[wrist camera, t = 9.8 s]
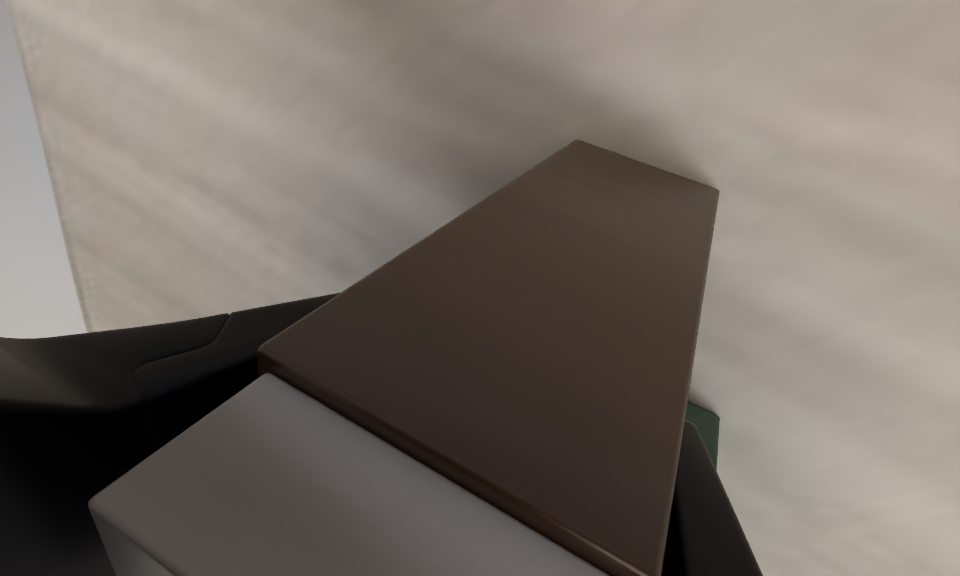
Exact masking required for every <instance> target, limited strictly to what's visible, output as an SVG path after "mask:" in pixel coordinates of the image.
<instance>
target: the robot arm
mask: <svg viewBox="0 0 960 576" xmlns="http://www.w3.org/2000/svg"><path fill="white" fill-rule="evenodd" d="M338 294H340V293H336V294H331V295H325V296H320V297H314V298H309V299H303V300H298V301H292V302H287V303H281V304H276V305H270V306H265V307H259V308H254V309H248V310H243V311H237V312H233V313H231V314H230V315H229V314H228V313H226V314H221V315H215V316H210V317H204V318H198V319H192V320H186V321H179V322H173V323H166V324H158V325H151V326H143V327H135V328H126V329H118V330H109V331H101V332H92V333H84V334H75V335H67V336H58V337H50V338H38V339H15V338H3V337H0V576H116V574H115V571H114V569H113V566H112V564H111V561H110V559H109V556H108V554H107V552H106V549H105V547H104V544H103V542H102V539H101V537H100V534H99V532H98V530H97V527H96V525H95V522H94V520H93V517H92V515H91V512H90V510H89V507H88V502H89V501H90V499H91V498H92V497H93V496H95V495H96V494H97V493H99V492H100V491H102V490H103V489H104V488H106V487H107V486H109V485H110V484H111V483H113V482H114V481H115V480H117V479H118V478H120V477H121V476H122V475H124V474H125V473H127V472H128V471H129V470H131V469H132V468H134V467H135V466H136V465H138V464H139V463H141V462H142V461H143V460H145V459H146V458H148V457H149V456H150V455H152V454H153V453H155V452H156V451H157V450H159V449H160V448H162V447H163V446H164V445H166V444H167V443H169V442H170V441H171V440H173V439H174V438H176V437H177V436H178V435H180V434H181V433H182V432H184V431H185V430H187V429H188V428H189V427H191V426H192V425H194V424H195V423H196V422H198V421H199V420H201V419H202V418H203V417H205V416H206V415H208V414H209V413H210V412H212V411H213V410H215V409H216V408H217V407H219V406H220V405H222V404H223V403H224V402H226V401H227V400H229V399H230V398H231V397H233V396H234V395H236V394H237V393H238V392H240V391H241V390H243V389H244V388H245V387H247V386H248V385H249V384H251V383H252V382H254V381H255V380H256V379H258V362H257V351H258V349H259V347H260V346H261V345H262V344H263V343H265V342H266V341H268V340H269V339H271V338H272V337H274V336H276V335H277V334H279V333H280V332H282V331H283V330H285V329H286V328H288V327H289V326H291V325H292V324H294V323H295V322H297V321H299V320H300V319H302V318H303V317H305V316H306V315H308V314H309V313H311V312H312V311H314V310H315V309H317V308H318V307H320V306H322V305H323V304H325V303H326V302H328V301H329V300H331V299H332V298H334V297H335V296H337V295H338ZM661 576H763V575H762V572H761V570H760V568H759V566H758V563H757V561H756V559H755V557H754V555H753V552H752V550H751V548H750V546H749V543H748V541H747V539H746V537H745V534H744V532H743V530H742V528H741V525H740V523H739V521H738V519H737V516H736V514H735V512H734V510H733V507H732V505H731V503H730V501H729V498H728V496H727V494H726V492H725V489H724V487H723V485H722V483H721V480H720V478H719V476H718V474H717V471H716V469H715V467H714V465H713V462H712V460H711V458H710V456H709V454H708V451H707V449H706V447H705V445H704V442H703V440H702V438H701V436H700V433H699V431H698V429H697V427H696V426H695V424H693V423H691V422H689V421H687V420H685V421H684V427H683V434H682V441H681V447H680V454H679V460H678V467H677V473H676V480H675V487H674V493H673V500H672V506H671V513H670V520H669V526H668V533H667V539H666V546H665V553H664V559H663V566H662V572H661Z"/></svg>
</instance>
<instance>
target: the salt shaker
mask: <svg viewBox="0 0 960 576" xmlns="http://www.w3.org/2000/svg"><path fill="white" fill-rule="evenodd" d="M718 197H719V191H718V190H717V189H715V188H712V187H709V186H706V185H703V184H701V183H698V182H695V181H692V180H689V179H687V178H684V177H681V176H678V175H675V174H672V173H670V172H667V171H664V170H661V169H658V168H656V167H653V166H650V165H647V164H644V163H642V162H639V161H636V160H633V159H630V158H628V157H625V156H622V155H619V154H616V153H614V152H611V151H608V150H605V149H602V148H599V147H597V146H594V145H591V144H588V143H585V142H583V141H580V140H575V141H573V142H572V143H570V144H569V145H567V146H566V147H564V148H562V149H561V150H559V151H558V152H556V153H555V154H553V155H552V156H550V157H549V158H547V159H546V160H544V161H543V162H541V163H539V164H538V165H536V166H535V167H533V168H532V169H530V170H529V171H527V172H526V173H524V174H523V175H521V176H519V177H518V178H516V179H515V180H513V181H512V182H510V183H509V184H507V185H506V186H504V187H503V188H501V189H500V190H498V191H496V192H495V193H493V194H492V195H490V196H489V197H487V198H486V199H484V200H483V201H481V202H480V203H478V204H477V205H475V206H473V207H472V208H470V209H469V210H467V211H466V212H464V213H463V214H461V215H460V216H458V217H457V218H455V219H454V220H452V221H450V222H449V223H447V224H446V225H444V226H443V227H441V228H440V229H438V230H437V231H435V232H434V233H432V234H430V235H429V236H427V237H426V238H424V239H423V240H421V241H420V242H418V243H417V244H415V245H414V246H412V247H411V248H409V249H407V250H406V251H404V252H403V253H401V254H400V255H398V256H397V257H395V258H394V259H392V260H391V261H389V262H388V263H386V264H384V265H383V266H381V267H380V268H378V269H377V270H375V271H374V272H372V273H371V274H369V275H368V276H366V277H365V278H363V279H361V280H360V281H358V282H357V283H355V284H354V285H352V286H351V287H349V288H348V289H346V290H345V291H343V292H341V293H340V294H338V295H337V296H335V297H334V298H332V299H331V300H329V301H328V302H326V303H325V304H323V305H322V306H320V307H318V308H317V309H315V310H314V311H312V312H311V313H309V314H308V315H306V316H305V317H303V318H302V319H300V320H299V321H297V322H295V323H294V324H292V325H291V326H289V327H288V328H286V329H285V330H283V331H282V332H280V333H279V334H277V335H276V336H274V337H272V338H271V339H269V340H268V341H266V342H265V343H263V344H262V345H261V346H260V347H259V349H258V351H257V362H258V379H256V380H255V381H254V382H252V383H251V384H249V385H248V386H247V387H245V388H244V389H243V390H241V391H240V392H238V393H237V394H236V395H234V396H233V397H231V398H230V399H229V400H227V401H226V402H224V403H223V404H222V405H220V406H219V407H217V408H216V409H215V410H213V411H212V412H210V413H209V414H208V415H206V416H205V417H203V418H202V419H201V420H199V421H198V422H196V423H195V424H194V425H192V426H191V427H189V428H188V429H187V430H185V431H184V432H182V433H181V434H180V435H178V436H177V437H176V438H174V439H173V440H171V441H170V442H169V443H167V444H166V445H164V446H163V447H162V448H160V449H159V450H157V451H156V452H155V453H153V454H152V455H150V456H149V457H148V458H146V459H145V460H143V461H142V462H141V463H139V464H138V465H136V466H135V467H134V468H132V469H131V470H129V471H128V472H127V473H125V474H124V475H122V476H121V477H120V478H118V479H117V480H115V481H114V482H113V483H111V484H110V485H109V486H107V487H106V488H104V489H103V490H102V491H100V492H99V493H97V494H96V495H95V496H93V497H92V498H91V499H90V501H89V502H88V507H89V510H90V512H91V515H92V517H93V520H94V522H95V525H96V527H97V530H98V532H99V534H100V537H101V539H102V542H103V544H104V547H105V549H106V552H107V554H108V556H109V559H110V561H111V564H112V566H113V569H114V571H115V574H116V576H661V572H662V566H663V559H664V553H665V546H666V539H667V533H668V526H669V520H670V513H671V506H672V500H673V493H674V487H675V480H676V473H677V467H678V460H679V454H680V447H681V441H682V434H683V427H684V421H685V414H686V408H687V401H688V394H689V388H690V381H691V375H692V368H693V361H694V355H695V348H696V342H697V335H698V329H699V322H700V315H701V309H702V302H703V296H704V289H705V282H706V276H707V269H708V263H709V256H710V249H711V243H712V236H713V230H714V223H715V217H716V210H717V203H718Z"/></svg>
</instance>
